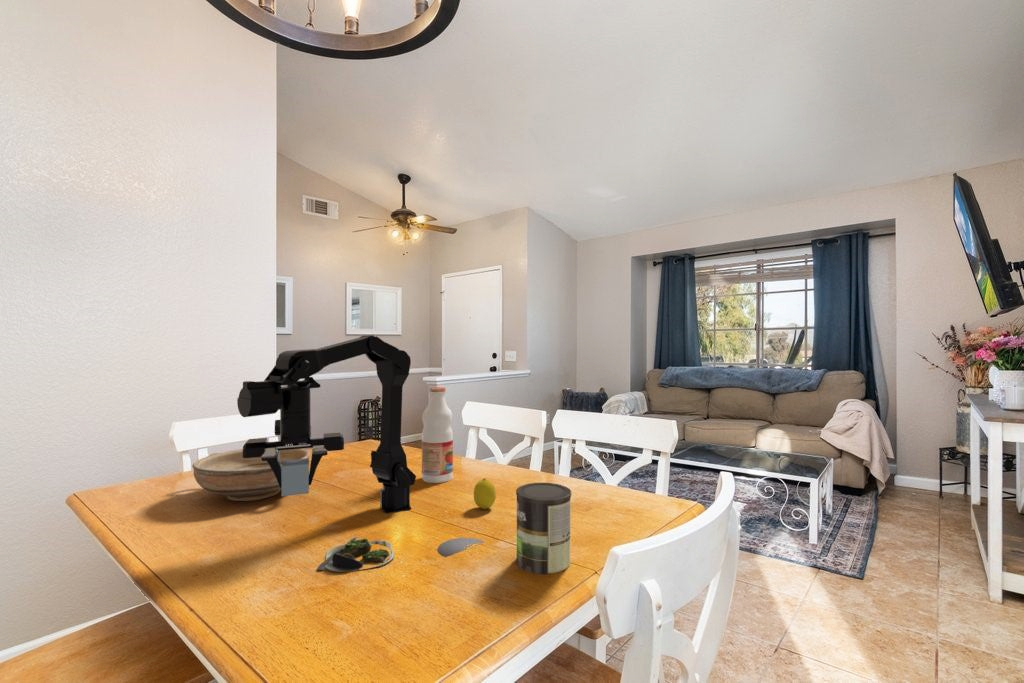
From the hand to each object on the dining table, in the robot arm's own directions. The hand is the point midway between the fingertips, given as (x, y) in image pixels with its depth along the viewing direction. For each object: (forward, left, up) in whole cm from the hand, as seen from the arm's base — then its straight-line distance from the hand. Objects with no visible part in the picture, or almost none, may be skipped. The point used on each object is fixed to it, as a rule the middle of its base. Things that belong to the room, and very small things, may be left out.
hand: (295, 486), depth 99 cm
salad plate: (-11, +12, -13) cm, 20 cm away
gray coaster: (-31, +17, -12) cm, 37 cm away
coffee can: (-43, +29, -12) cm, 53 cm away
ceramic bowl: (+11, -41, -12) cm, 44 cm away
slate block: (0, 0, -1) cm, 1 cm away
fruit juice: (-39, -34, -12) cm, 53 cm away
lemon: (-43, -3, -12) cm, 44 cm away
